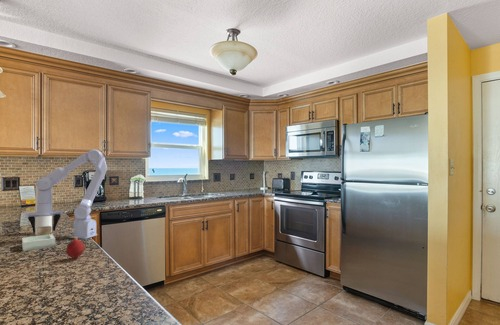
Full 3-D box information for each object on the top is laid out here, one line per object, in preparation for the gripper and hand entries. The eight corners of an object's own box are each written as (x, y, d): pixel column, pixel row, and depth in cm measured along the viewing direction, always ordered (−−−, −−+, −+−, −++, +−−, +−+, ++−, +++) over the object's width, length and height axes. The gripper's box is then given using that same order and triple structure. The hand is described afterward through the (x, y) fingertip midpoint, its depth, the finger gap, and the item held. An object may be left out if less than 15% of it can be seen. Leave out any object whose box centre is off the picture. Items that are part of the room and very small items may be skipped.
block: (50, 238, 137) (50, 225, 137) (51, 240, 133) (51, 227, 133) (37, 239, 133) (37, 227, 134) (38, 241, 130) (38, 229, 130)
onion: (75, 262, 101) (75, 239, 101) (62, 261, 102) (62, 239, 103) (87, 257, 107) (88, 236, 107) (75, 256, 108) (75, 235, 108)
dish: (52, 241, 130) (52, 234, 130) (55, 246, 122) (55, 238, 122) (21, 245, 123) (22, 237, 123) (22, 251, 114) (23, 242, 114)
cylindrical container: (55, 231, 150) (55, 185, 150) (44, 235, 143) (44, 186, 143) (42, 231, 151) (43, 185, 151) (31, 234, 143) (32, 186, 144)
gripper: (61, 201, 141) (61, 228, 141) (25, 203, 132) (24, 232, 132) (63, 202, 136) (63, 230, 136) (25, 204, 127) (25, 234, 126)
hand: (44, 231), depth 133 cm, fingers open, 7 cm apart
